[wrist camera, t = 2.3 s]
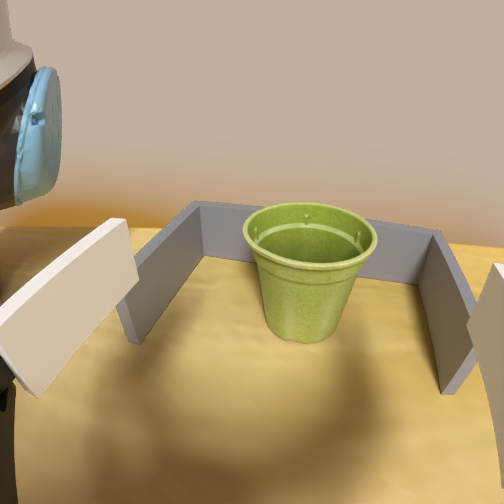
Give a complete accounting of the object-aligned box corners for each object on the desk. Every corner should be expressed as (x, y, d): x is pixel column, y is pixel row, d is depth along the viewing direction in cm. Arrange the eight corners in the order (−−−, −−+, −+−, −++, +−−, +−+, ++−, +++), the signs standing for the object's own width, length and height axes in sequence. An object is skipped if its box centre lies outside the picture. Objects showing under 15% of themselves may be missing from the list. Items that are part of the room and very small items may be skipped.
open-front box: (128, 340, 23) (108, 282, 20) (198, 248, 36) (193, 200, 33) (453, 394, 18) (491, 339, 14) (425, 279, 30) (440, 230, 27)
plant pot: (289, 382, 20) (301, 283, 16) (225, 307, 27) (219, 217, 23) (376, 328, 24) (402, 238, 20) (308, 275, 31) (316, 194, 27)
